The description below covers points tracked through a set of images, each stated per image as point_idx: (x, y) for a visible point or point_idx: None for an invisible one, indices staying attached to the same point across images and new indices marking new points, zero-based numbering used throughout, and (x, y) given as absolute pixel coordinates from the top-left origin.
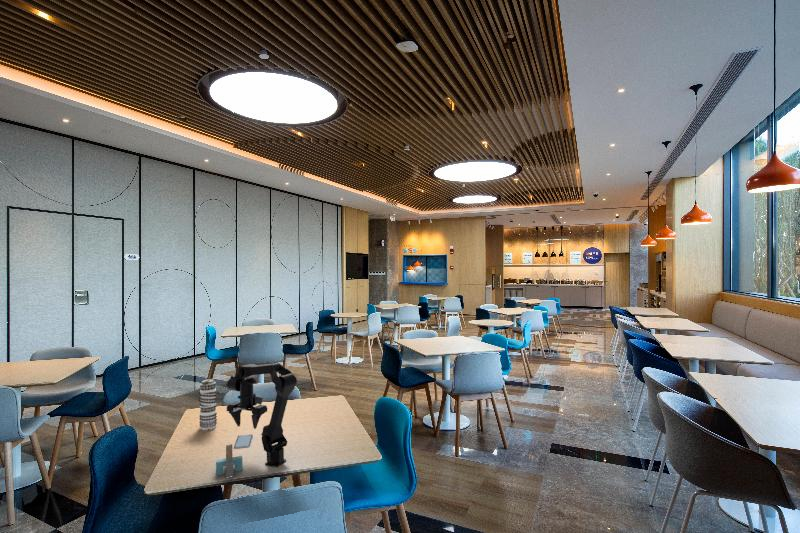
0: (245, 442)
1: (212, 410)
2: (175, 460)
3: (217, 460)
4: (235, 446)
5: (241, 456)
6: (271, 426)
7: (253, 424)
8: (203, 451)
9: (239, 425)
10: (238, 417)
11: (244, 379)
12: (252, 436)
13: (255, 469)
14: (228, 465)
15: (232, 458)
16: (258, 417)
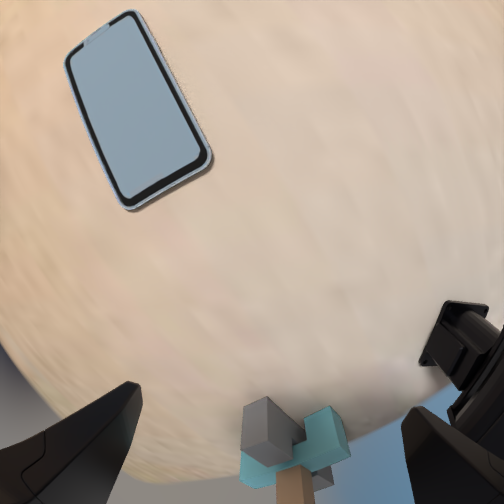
0: (148, 113)
1: None
2: (27, 359)
3: (247, 481)
4: (121, 187)
5: (340, 450)
6: None
7: (417, 480)
8: (29, 276)
9: (139, 398)
10: (81, 490)
11: None
12: (145, 25)
13: (390, 399)
14: (319, 489)
15: (305, 467)
16: (501, 490)
